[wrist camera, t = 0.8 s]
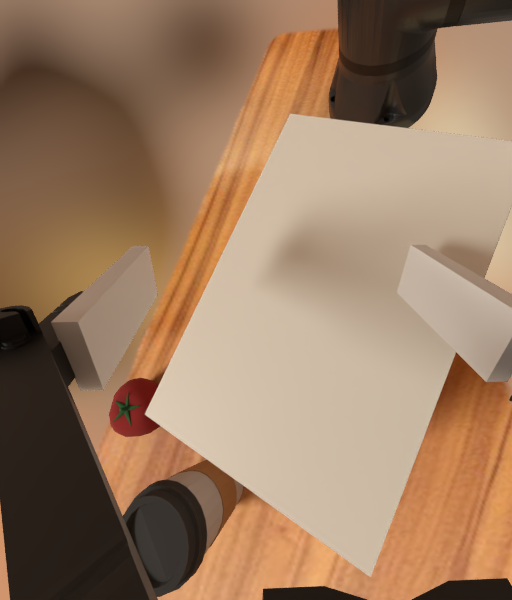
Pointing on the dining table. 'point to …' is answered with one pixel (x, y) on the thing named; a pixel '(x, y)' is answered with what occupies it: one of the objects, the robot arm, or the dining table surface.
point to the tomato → (133, 408)
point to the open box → (332, 321)
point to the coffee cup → (180, 522)
